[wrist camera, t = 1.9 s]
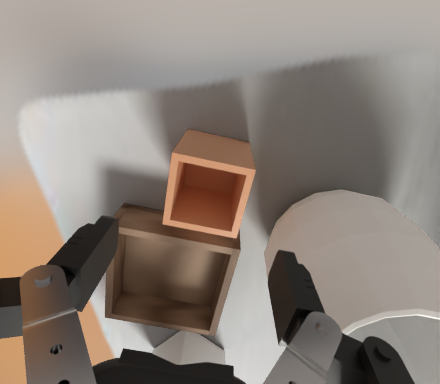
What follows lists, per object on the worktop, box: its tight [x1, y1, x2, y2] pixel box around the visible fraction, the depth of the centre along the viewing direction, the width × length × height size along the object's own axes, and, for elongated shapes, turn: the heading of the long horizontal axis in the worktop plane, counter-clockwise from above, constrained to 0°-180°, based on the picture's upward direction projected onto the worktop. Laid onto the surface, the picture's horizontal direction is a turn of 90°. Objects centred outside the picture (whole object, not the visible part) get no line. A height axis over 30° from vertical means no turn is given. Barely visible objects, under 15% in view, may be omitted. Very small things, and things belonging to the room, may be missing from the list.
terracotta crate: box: [162, 129, 256, 238], centre depth 22 cm, size 6×6×7 cm
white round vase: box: [264, 190, 440, 384], centre depth 22 cm, size 13×13×14 cm
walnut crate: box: [105, 203, 241, 336], centre depth 28 cm, size 12×12×4 cm
